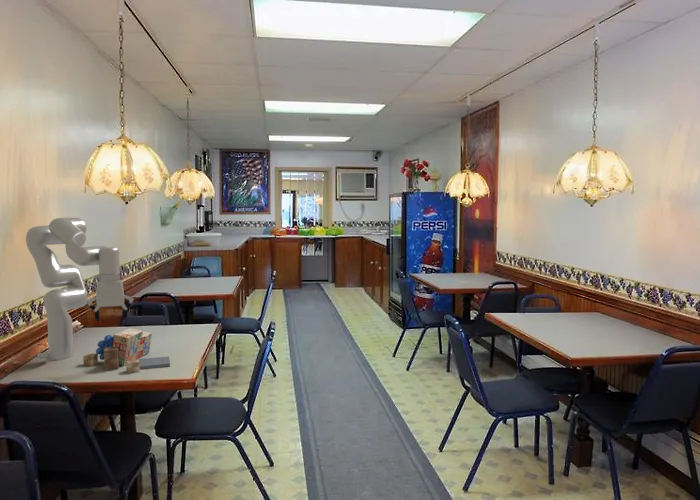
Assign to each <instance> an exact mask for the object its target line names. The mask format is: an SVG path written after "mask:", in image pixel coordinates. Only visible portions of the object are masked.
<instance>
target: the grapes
mask: <svg viewBox="0 0 700 500" xmlns="http://www.w3.org/2000/svg"><path fill="white" fill-rule="evenodd" d="M114 335H115V334H113V335H111V334H108V335H105V337H103V340H99V341H98V343H97V346H98V348H97V349H96V350H95V354H98V359H99V360H102V361H103V360H104V349H105V348H108V347H112V346H113V341H114Z"/></svg>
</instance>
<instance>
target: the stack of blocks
mask: <svg viewBox="0 0 700 500" xmlns="http://www.w3.org/2000/svg"><path fill="white" fill-rule="evenodd" d="M152 334H153V333H152V332H149V331H145V330H139V329H135V328H131V327H129V328H127V329H124V330H122V331H120V332H117V333H115V334H113V335H114V341H113V346H112V347H118V349H119V366H122V367H124V366H126V361H132V360H139V359H140V358H141V357H143V356H145V355H148V354H149V353H150V348H151V342H152Z"/></svg>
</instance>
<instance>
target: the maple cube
mask: <svg viewBox="0 0 700 500" xmlns="http://www.w3.org/2000/svg"><path fill="white" fill-rule="evenodd" d="M125 366H126V372H127V373H128V374H135V373H139V372H141V371H140V370H141V369H140V364H139V359H136V360H132V361H126V365H125Z"/></svg>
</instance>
